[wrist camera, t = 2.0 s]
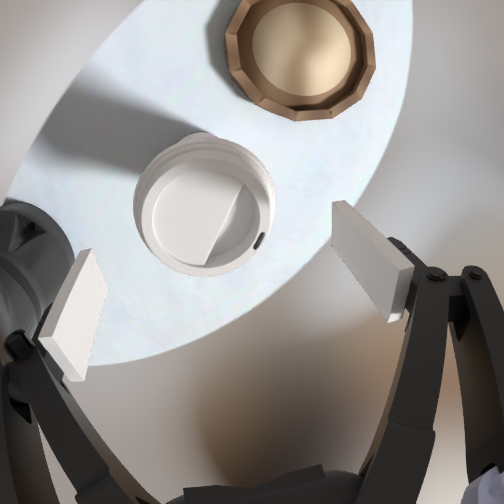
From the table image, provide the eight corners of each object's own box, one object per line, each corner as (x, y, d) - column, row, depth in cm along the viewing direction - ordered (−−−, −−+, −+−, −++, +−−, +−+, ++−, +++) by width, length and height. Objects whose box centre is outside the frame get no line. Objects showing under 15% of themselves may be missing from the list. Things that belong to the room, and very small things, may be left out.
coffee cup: (200, 220, 34) (208, 309, 22) (136, 164, 30) (97, 227, 17) (263, 162, 32) (313, 220, 20) (201, 98, 28) (208, 107, 15)
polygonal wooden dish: (235, 127, 30) (237, 129, 28) (215, -13, 21) (217, -19, 20) (370, 115, 31) (379, 117, 30) (358, -10, 23) (366, -13, 21)
